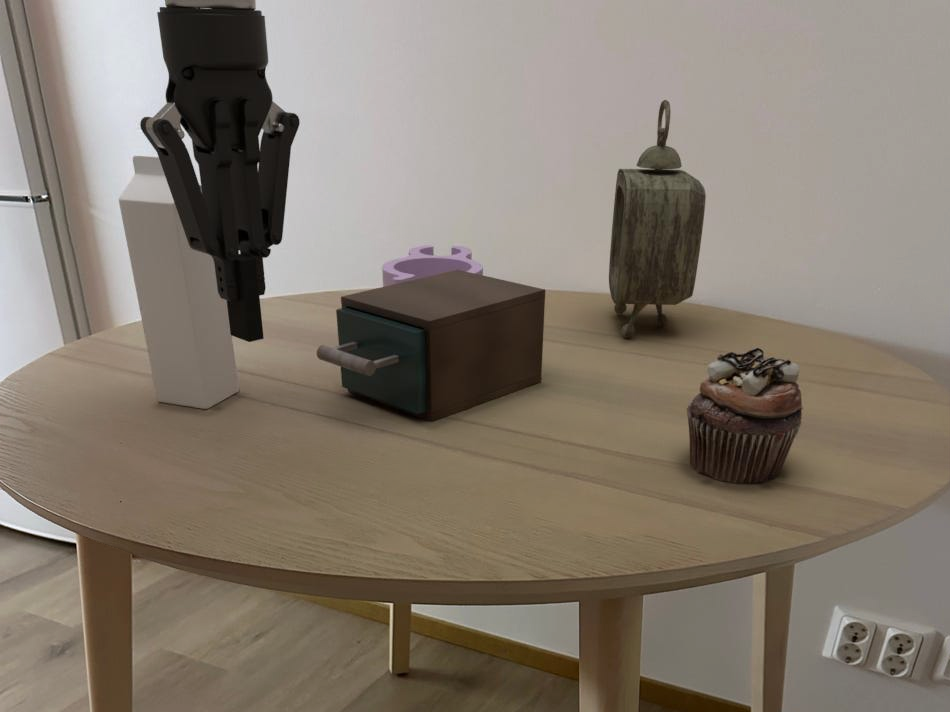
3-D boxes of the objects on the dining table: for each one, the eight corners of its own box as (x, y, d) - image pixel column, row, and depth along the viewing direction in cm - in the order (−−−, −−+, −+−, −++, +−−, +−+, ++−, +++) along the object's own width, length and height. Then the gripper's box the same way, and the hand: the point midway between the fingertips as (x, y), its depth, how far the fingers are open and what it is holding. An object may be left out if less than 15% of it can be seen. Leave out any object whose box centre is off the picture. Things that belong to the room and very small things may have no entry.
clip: (399, 297, 129) (397, 244, 125) (488, 299, 128) (488, 246, 124) (376, 338, 112) (373, 279, 108) (478, 341, 112) (478, 281, 108)
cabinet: (431, 422, 90) (429, 321, 84) (347, 391, 97) (340, 296, 91) (541, 381, 100) (545, 289, 94) (457, 356, 107) (457, 269, 101)
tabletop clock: (605, 311, 124) (623, 95, 110) (672, 312, 124) (699, 96, 110) (613, 342, 112) (635, 104, 98) (688, 344, 112) (721, 106, 98)
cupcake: (812, 466, 81) (837, 352, 76) (752, 499, 76) (775, 378, 70) (719, 436, 87) (737, 328, 81) (657, 464, 81) (672, 351, 76)
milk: (192, 384, 98) (153, 151, 86) (241, 391, 96) (208, 155, 84) (156, 402, 93) (109, 158, 81) (206, 410, 92) (166, 162, 79)
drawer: (383, 427, 86) (378, 342, 82) (307, 397, 92) (299, 318, 88) (523, 377, 98) (526, 301, 94) (447, 354, 104) (446, 282, 100)
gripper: (254, 5, 72) (282, 314, 85) (99, -1, 64) (155, 341, 77) (315, 7, 68) (334, 332, 81) (156, 1, 60) (206, 362, 73)
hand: (247, 336), depth 79 cm, fingers closed
